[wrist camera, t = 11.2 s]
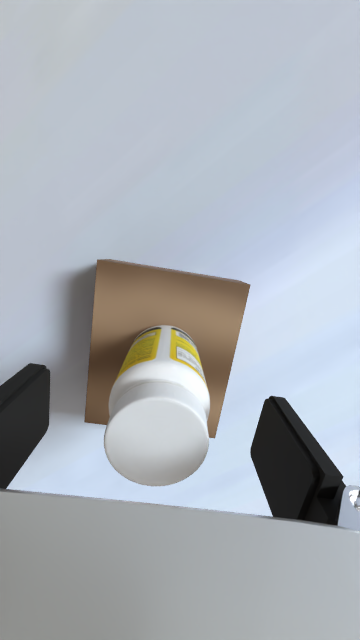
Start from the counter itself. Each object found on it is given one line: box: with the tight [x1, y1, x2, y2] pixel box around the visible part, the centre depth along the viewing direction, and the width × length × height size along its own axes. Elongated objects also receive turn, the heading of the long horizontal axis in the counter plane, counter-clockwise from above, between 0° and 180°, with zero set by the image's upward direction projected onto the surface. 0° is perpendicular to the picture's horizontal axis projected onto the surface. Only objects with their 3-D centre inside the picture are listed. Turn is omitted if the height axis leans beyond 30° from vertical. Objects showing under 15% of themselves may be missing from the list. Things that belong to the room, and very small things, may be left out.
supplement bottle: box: [104, 325, 210, 486], centre depth 13 cm, size 5×5×8 cm
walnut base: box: [85, 259, 250, 438], centre depth 19 cm, size 12×10×3 cm
